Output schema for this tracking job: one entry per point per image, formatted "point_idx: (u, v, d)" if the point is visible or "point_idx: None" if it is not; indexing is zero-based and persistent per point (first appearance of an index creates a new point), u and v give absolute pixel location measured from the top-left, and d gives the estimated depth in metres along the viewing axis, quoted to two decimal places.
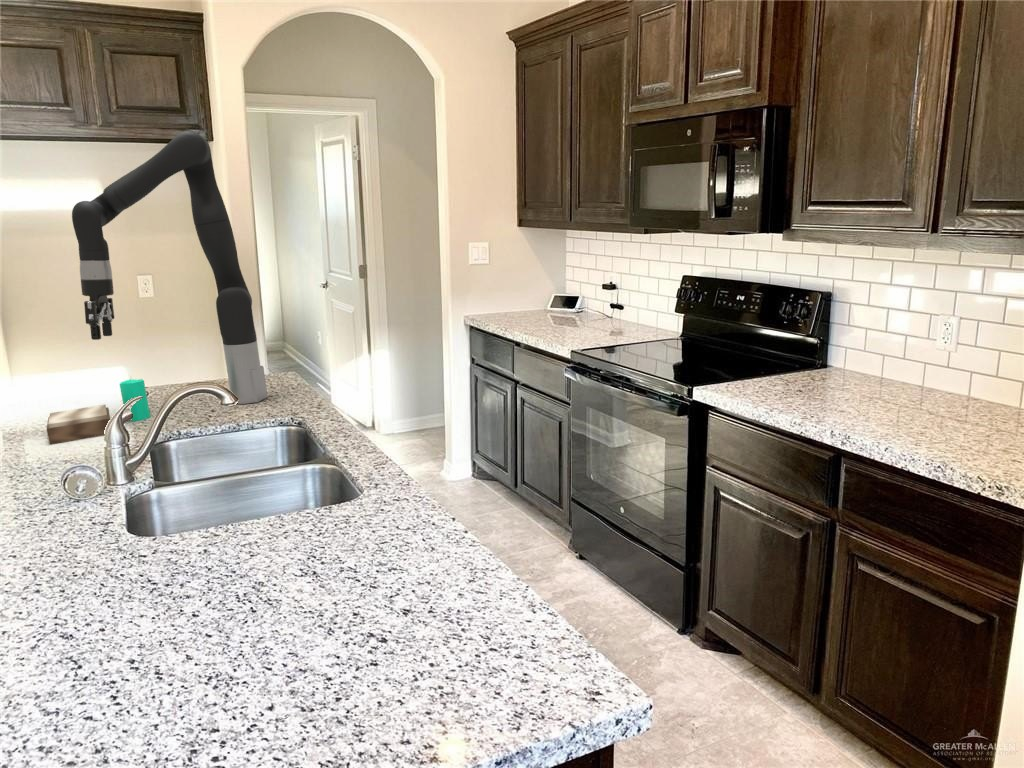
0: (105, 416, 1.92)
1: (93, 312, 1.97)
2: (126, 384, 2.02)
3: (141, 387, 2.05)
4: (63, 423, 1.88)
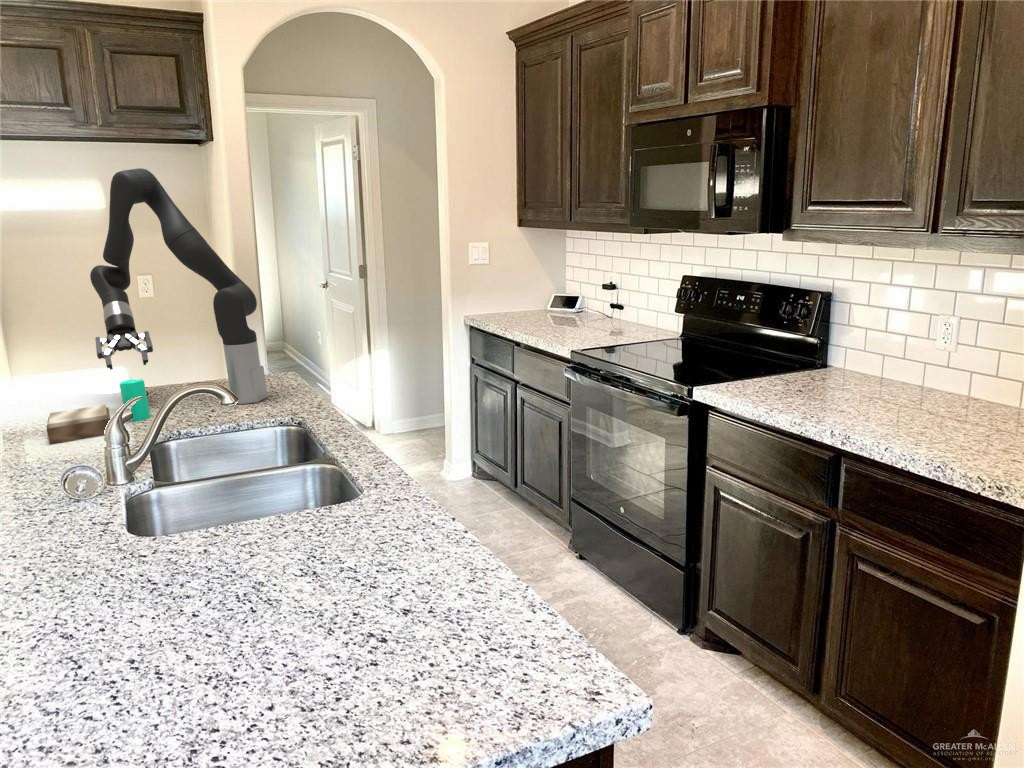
0: (105, 416, 1.92)
1: (96, 346, 2.11)
2: (126, 384, 2.02)
3: (141, 387, 2.05)
4: (63, 423, 1.88)
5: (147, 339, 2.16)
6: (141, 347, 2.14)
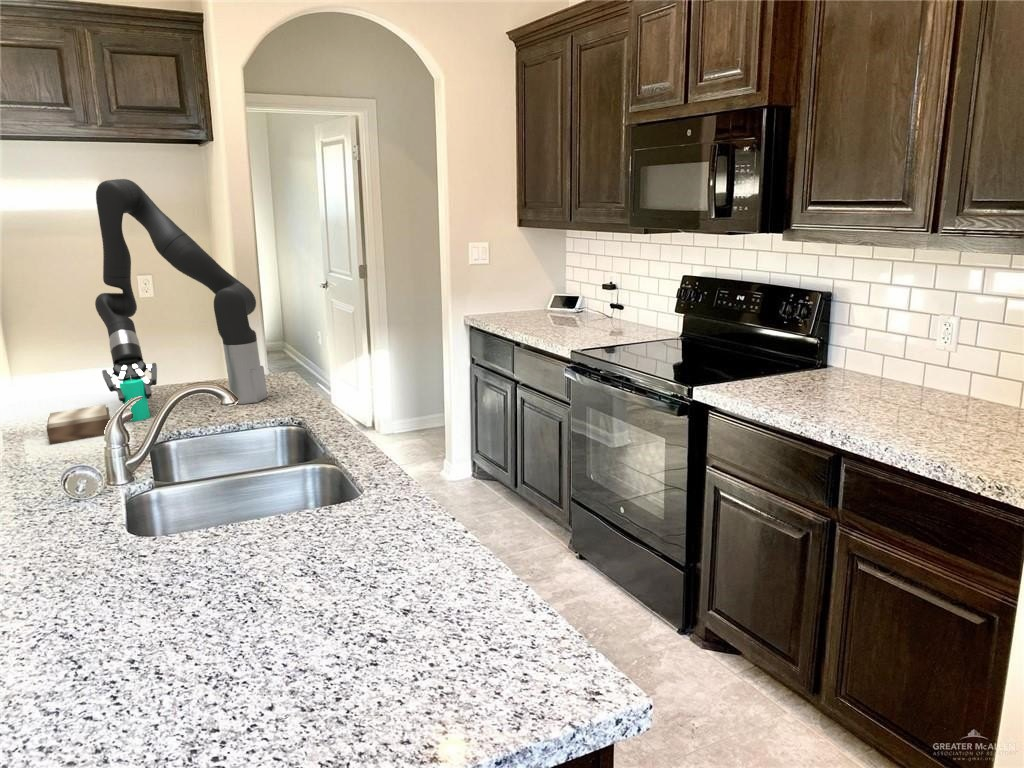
0: (105, 416, 1.92)
1: (105, 379, 2.04)
2: (126, 384, 2.02)
3: (141, 387, 2.04)
4: (63, 423, 1.88)
5: (153, 371, 2.09)
6: (145, 380, 2.07)
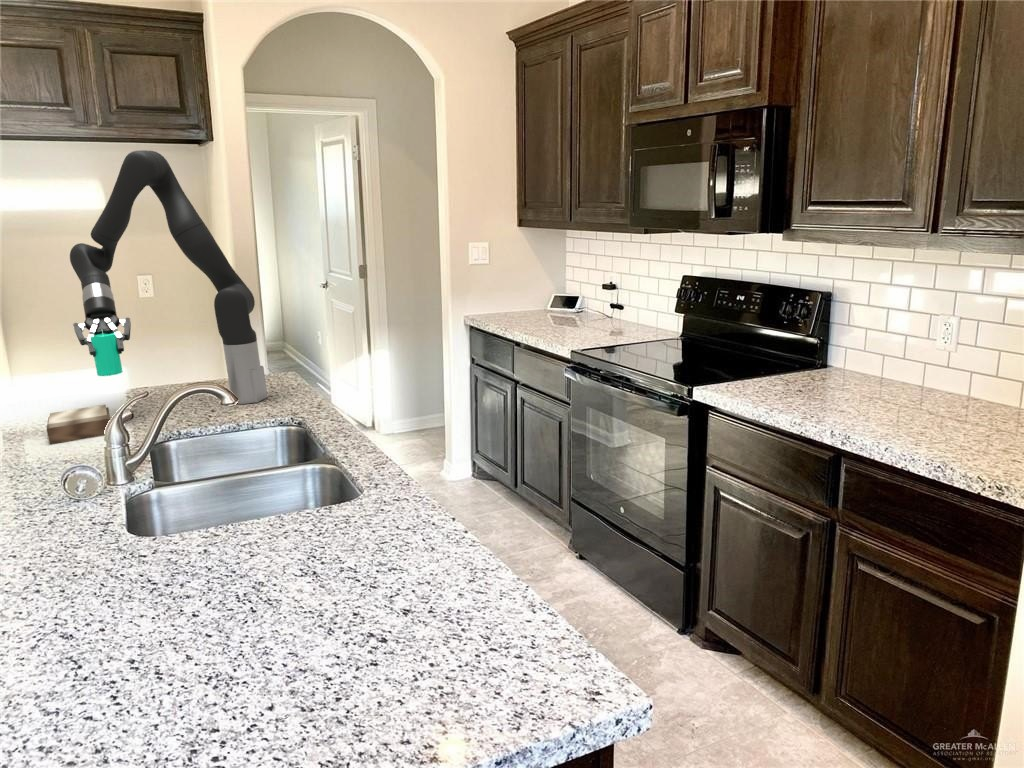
0: (105, 416, 1.92)
1: (76, 332, 1.98)
2: (97, 337, 1.96)
3: (113, 341, 1.98)
4: (63, 423, 1.88)
5: (126, 326, 2.03)
6: (117, 334, 2.01)
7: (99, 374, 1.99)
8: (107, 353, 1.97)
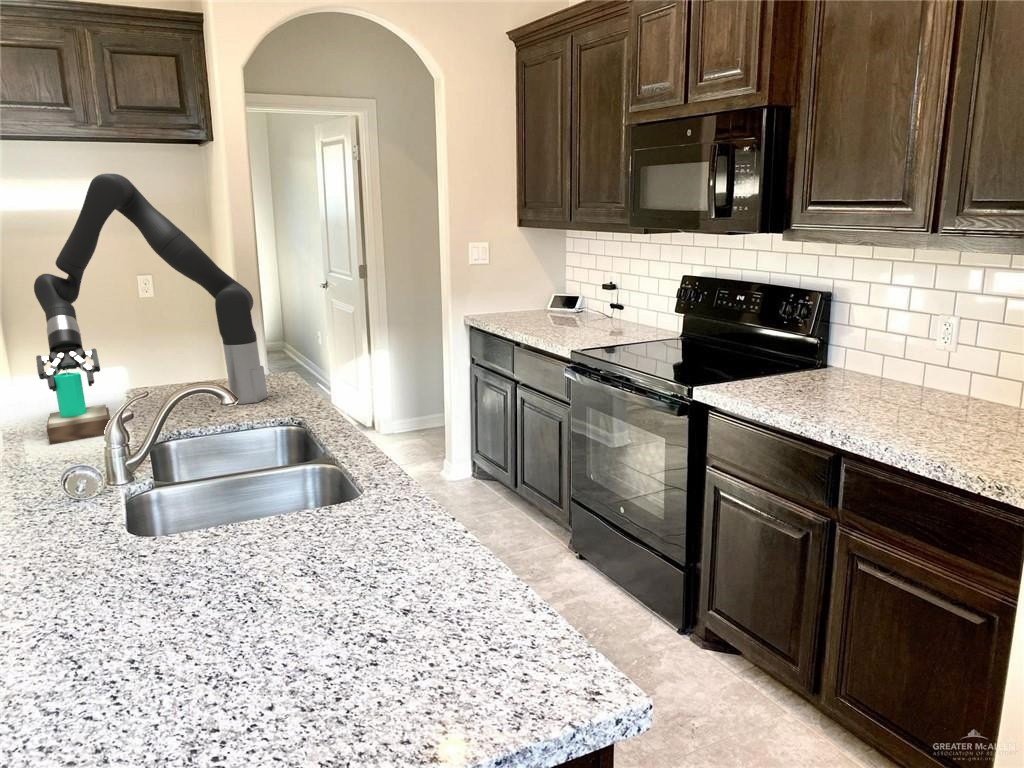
0: (105, 416, 1.92)
1: (37, 365, 1.92)
2: (60, 377, 1.90)
3: (77, 381, 1.92)
4: (63, 423, 1.88)
5: (94, 357, 1.97)
6: (86, 366, 1.95)
7: (62, 415, 1.92)
8: (70, 393, 1.91)
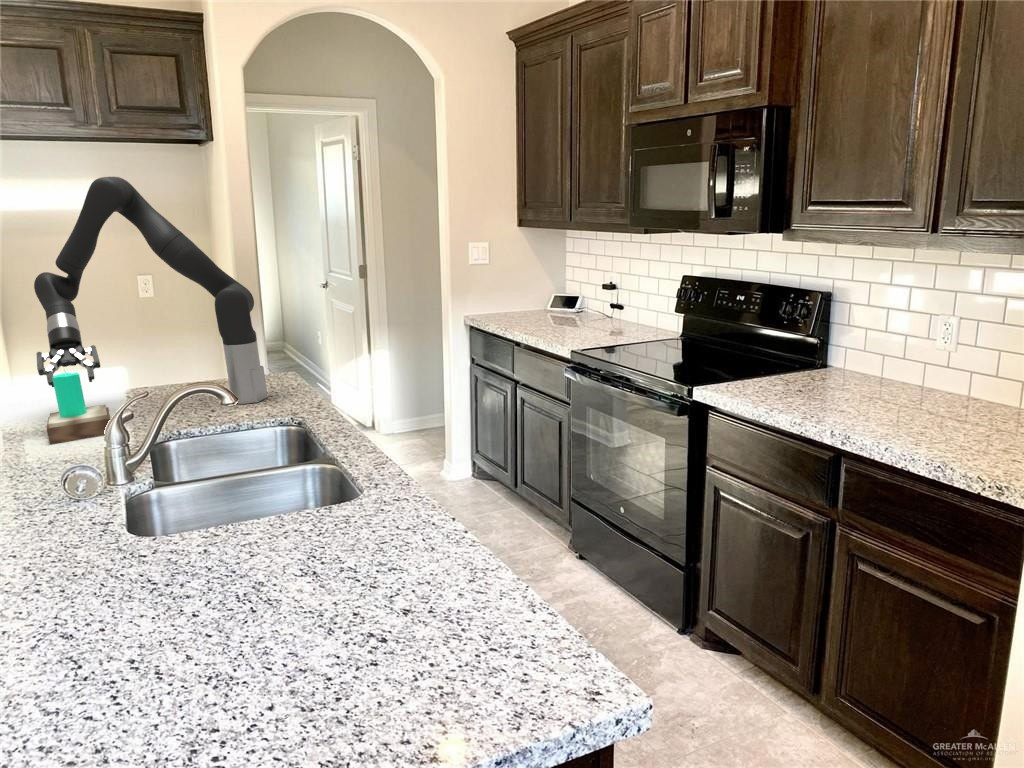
0: (105, 416, 1.92)
1: (37, 361, 1.95)
2: (59, 378, 1.90)
3: (76, 381, 1.92)
4: (63, 423, 1.88)
5: (94, 354, 2.01)
6: (87, 363, 1.99)
7: (62, 415, 1.92)
8: (69, 394, 1.91)
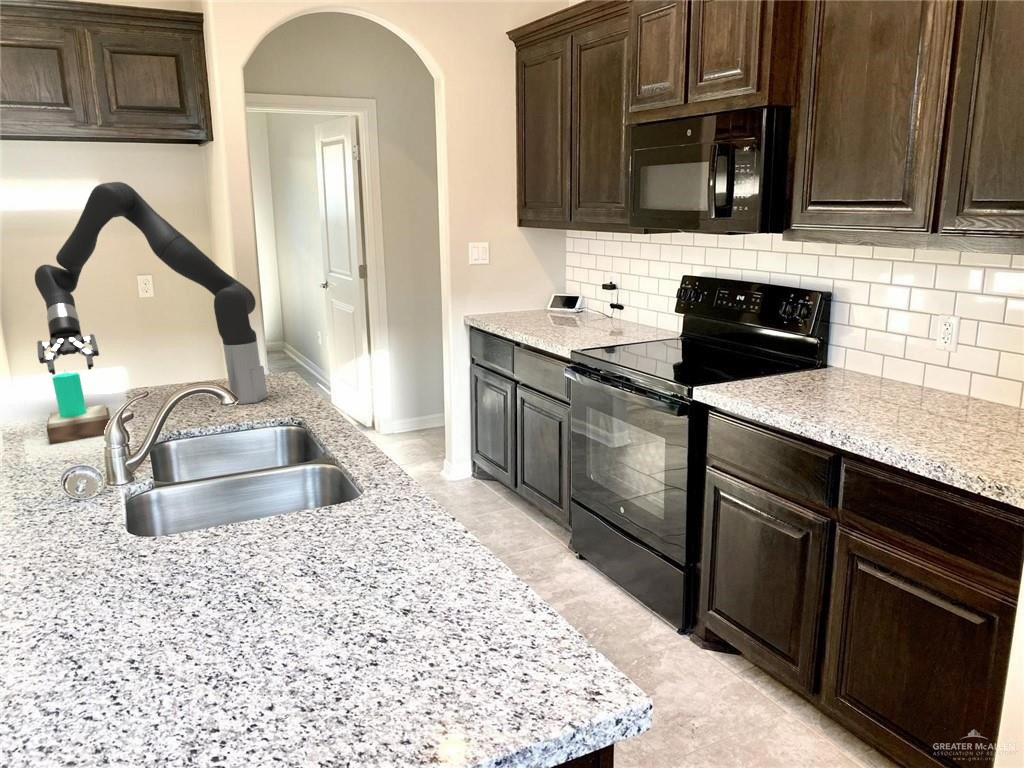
0: (105, 416, 1.92)
1: None
2: (59, 378, 1.90)
3: (76, 381, 1.92)
4: (63, 423, 1.88)
5: (92, 342, 2.08)
6: (86, 351, 2.06)
7: (62, 415, 1.92)
8: (69, 394, 1.91)
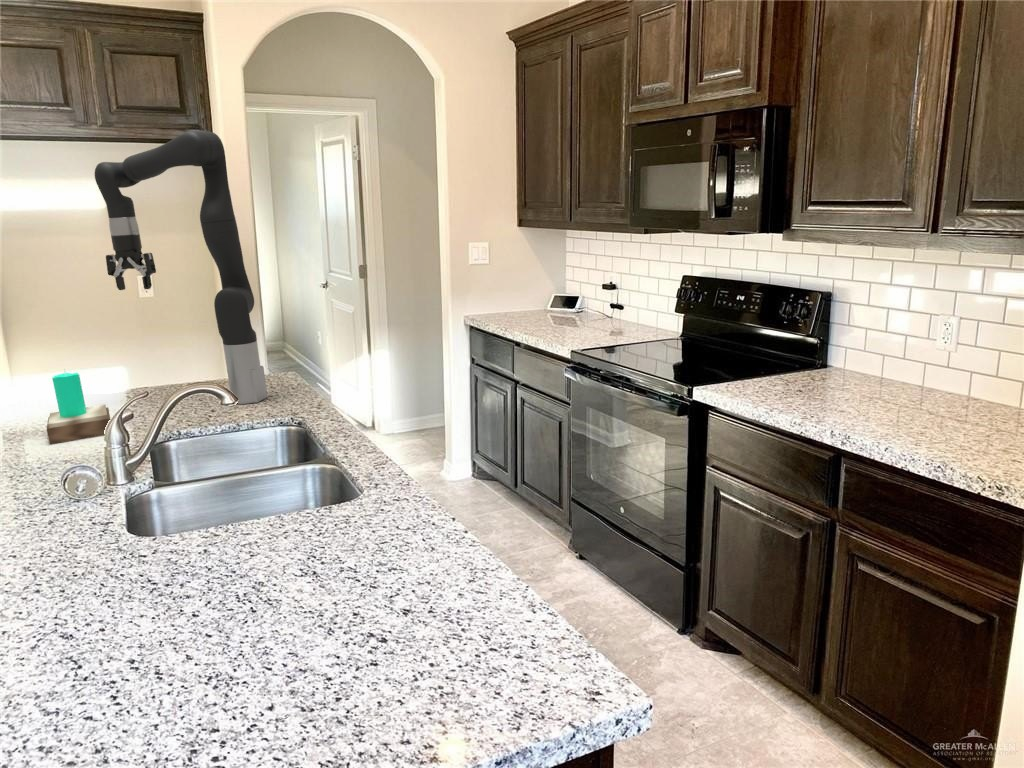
0: (105, 416, 1.92)
1: None
2: (59, 378, 1.90)
3: (76, 381, 1.92)
4: (63, 423, 1.88)
5: (146, 263, 2.19)
6: (142, 273, 2.20)
7: (62, 415, 1.92)
8: (69, 394, 1.91)
